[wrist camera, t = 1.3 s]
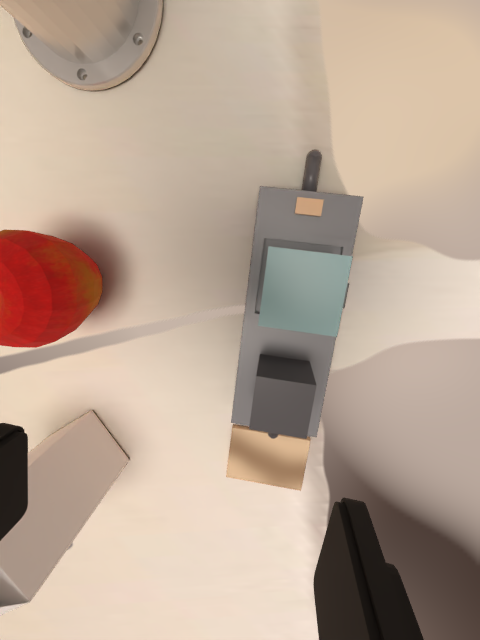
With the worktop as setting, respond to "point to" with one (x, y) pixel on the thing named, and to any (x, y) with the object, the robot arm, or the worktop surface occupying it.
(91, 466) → the milk carton
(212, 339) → the worktop surface
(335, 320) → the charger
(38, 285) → the apple
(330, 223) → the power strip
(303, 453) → the cork pad
